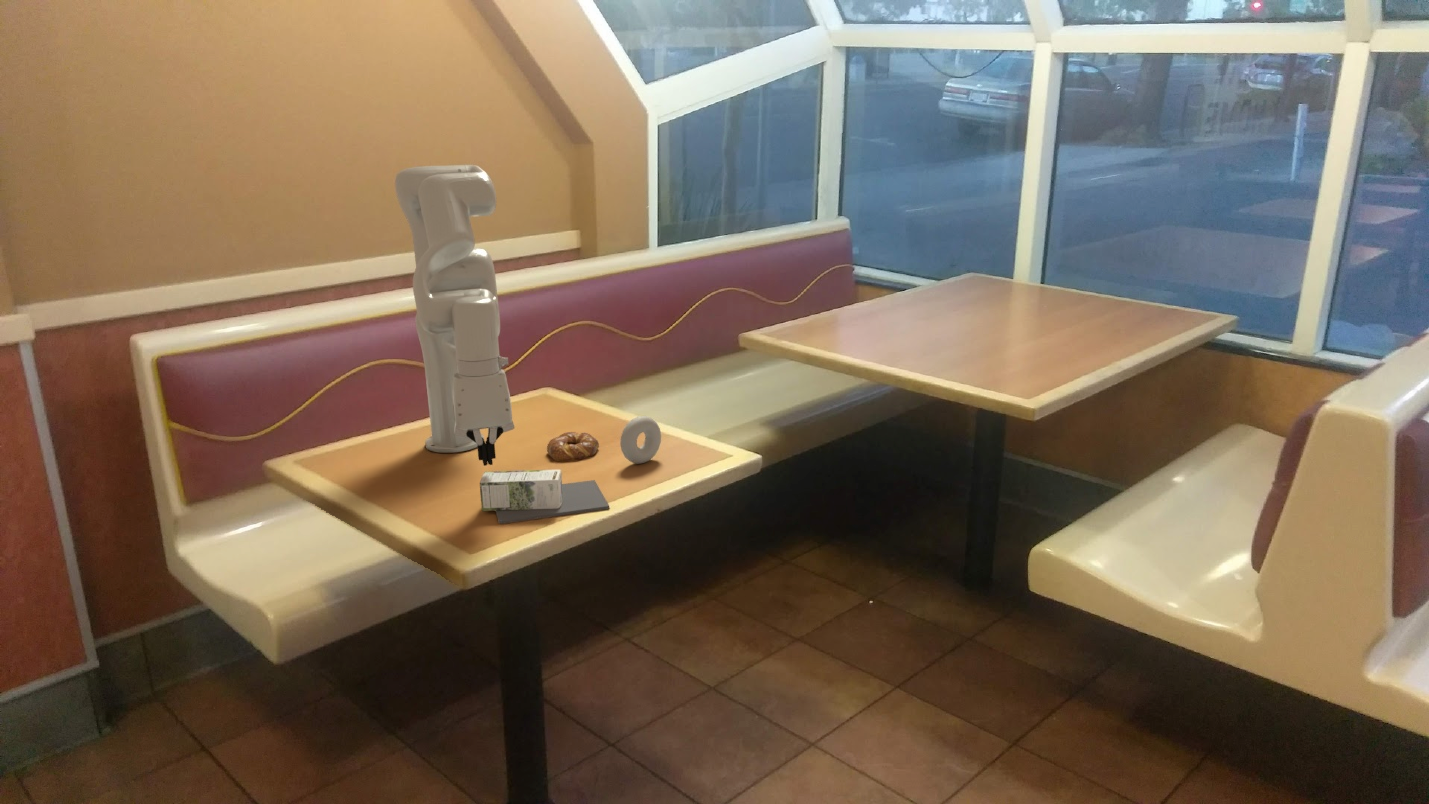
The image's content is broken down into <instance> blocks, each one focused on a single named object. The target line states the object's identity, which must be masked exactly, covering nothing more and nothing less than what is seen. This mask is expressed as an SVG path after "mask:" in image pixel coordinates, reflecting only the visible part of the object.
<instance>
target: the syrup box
mask: <svg viewBox="0 0 1429 804" xmlns="http://www.w3.org/2000/svg"><path fill="white" fill-rule="evenodd" d="M562 480H563V479H562V469H538V470H537V469H533V470H532V469H531V470H507V471H506V470H501V471H500V470H499V471H485V472H484V473H483V474H482V477H481V478H480V481H479V492H480V502H481V503H480V505H481V511H482V512H491V511H495V512H496V510H530V509H559V508H560V506H561V504H562V502H563V491H562V484H563V481H562Z"/></svg>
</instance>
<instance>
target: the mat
mask: <svg viewBox="0 0 1429 804" xmlns="http://www.w3.org/2000/svg"><path fill="white" fill-rule="evenodd" d="M562 491H563V502H562V504H561V506H560V508H559V509H530V510H496V511H495V513H496V518H497V521H498V523H499V525H502V524H503V525H504V524H509V523H517V522H524V521H525V522H526V521H530V520H531V521H532V520H537V519H538V520H539V519H540V520H541V519H546V518H554V517H560V516H569V515H577V514H582V513H589V512H596V511H597V512H598V511H605V510H610V504H609V503H608V501H607V500H606V497H605V496H604V494H603V493H602V491H601V488H600V487H599V485H598V484H597V481H596V480H595V479H593V480H592V479H591V480H584V481H577V482H569V483H562Z"/></svg>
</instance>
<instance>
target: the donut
mask: <svg viewBox="0 0 1429 804" xmlns="http://www.w3.org/2000/svg"><path fill="white" fill-rule="evenodd" d="M642 433H644V442H643V444H642V445H641V446H640V447H639V446H638V438H639V436H640V435H641V434H642ZM661 442H662V432H661V428H660V427H659V425H658V423H657V421H656V420H654V418H652V417H649V416H646V415H643V416H639V415H638V416H636V417H635V418H632V419H631V420H630V421H629V422H627V423H626V425H625V427H624V428H623V430H622V433H621V436H620V444H619V445H620V448H621V449H620V450H621V453H622V455H623V457H624V458H625V459H626V460H628V461H629V462H630V463H633V464H637V465H638V464H639V465H640V464H645V463H647V462H649V461H651V460H652V459H653V458H654V457H655V456H656V454H657V453H658V451H659V449H660V446H661Z"/></svg>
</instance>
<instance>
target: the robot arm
mask: <svg viewBox="0 0 1429 804" xmlns="http://www.w3.org/2000/svg"><path fill="white" fill-rule="evenodd" d="M394 185H395V186H394V187H395V194H396V198H397V201H398V203H399V206H400V208H401V211H402V213H403V214H404V216H405V218H406V220H407V224H408V225H409V227H410V230H411V234H412V235H411V236H412V242H413V252H414V259H415V269H414V273H413V276H412V277H413V278H412V290H413V291H412V292H413V296H414V302H415V306H416V314H415V318H414V321H415V329H416V333H417V336H418V339H419V343H420V348H421V352H422V359H423V366H424V373H425V382H426V385H425V386H426V392H427V402H428V411H429V422H430V431H431V436H429V437H428V438H427V439H426V440H425V442H424V443H425V448H426V449H427V450H429V451H431V452H434V453H443V454H445V453H446V454H448V453H451V454H452V453H461V452H465V451H466V452H467V451H470V450H473V449H476V448H477V455H478V456H477V457H478V461H482V465H483V466H487V465H489V466H493V465H494V462H493V459H497V458H496V456H497V455H496V447H495V444H496V443H497V440H498V439H499V438H500V437H501V436H502V434H504V433H508V432H510V431H512V430H514V429H515V424H514V422H513V409H512V402H511V395H510V388H509V385H508V378H507V375H506V371H505V370H504V369H502V368H503V367H504V366H509V357H503V356H502V355H500V347H499V346H500V343H499V336H500V333H501V317H500V315H501V314H500V307H499V306H500V305H499V297H498V287H497V280H496V279H497V278H496V272H495V270H496V269H495V266H494V262H493V259H492V257H491V255H490V253H489V252H488V251H487V250H485V249H483V248H480V247H475V245H476V240H475V236H474V231H473V228H472V224H471V220H470V218H471V217H472V218H473V217H485V216H487V217H488V216H491V215H492V214H493V213H494V212H495V210H496V207H497V192H496V188H495V185H494V182H493V180H492V179H491V177H490V176H489V175H488V173H487V172H486V171H485V170H483V168H481V167H480V166H479V165H475V164H455V165H454V164H453V165H425V166H423V165H422V166H415V167H408V168H405V169H402V170H400V171H399V172H398V173H397V174H396V175H395V179H394ZM484 429H485V430H486V429H488V430H487V437H486V440H485V436H484V434H482V432H481V430H484Z"/></svg>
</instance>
